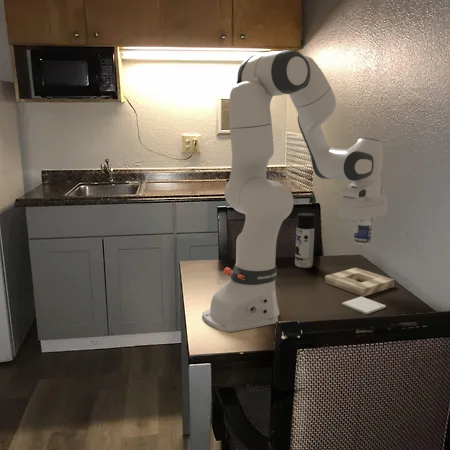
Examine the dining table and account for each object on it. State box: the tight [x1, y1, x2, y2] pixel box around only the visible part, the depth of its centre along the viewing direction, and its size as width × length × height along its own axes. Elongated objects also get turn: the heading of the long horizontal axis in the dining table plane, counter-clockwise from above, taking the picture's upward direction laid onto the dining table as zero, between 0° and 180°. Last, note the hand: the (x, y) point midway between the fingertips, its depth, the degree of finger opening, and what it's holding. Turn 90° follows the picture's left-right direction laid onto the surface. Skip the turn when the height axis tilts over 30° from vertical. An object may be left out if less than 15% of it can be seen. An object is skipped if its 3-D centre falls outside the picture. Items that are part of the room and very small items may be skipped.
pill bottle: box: [352, 215, 372, 246], centre depth 154 cm, size 5×5×10 cm
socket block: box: [324, 267, 395, 298], centre depth 159 cm, size 16×16×2 cm
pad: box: [341, 296, 387, 315], centre depth 141 cm, size 9×9×1 cm
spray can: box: [294, 212, 316, 269], centre depth 178 cm, size 7×7×20 cm
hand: (362, 231), depth 154 cm, fingers closed on pill bottle, 5 cm apart
